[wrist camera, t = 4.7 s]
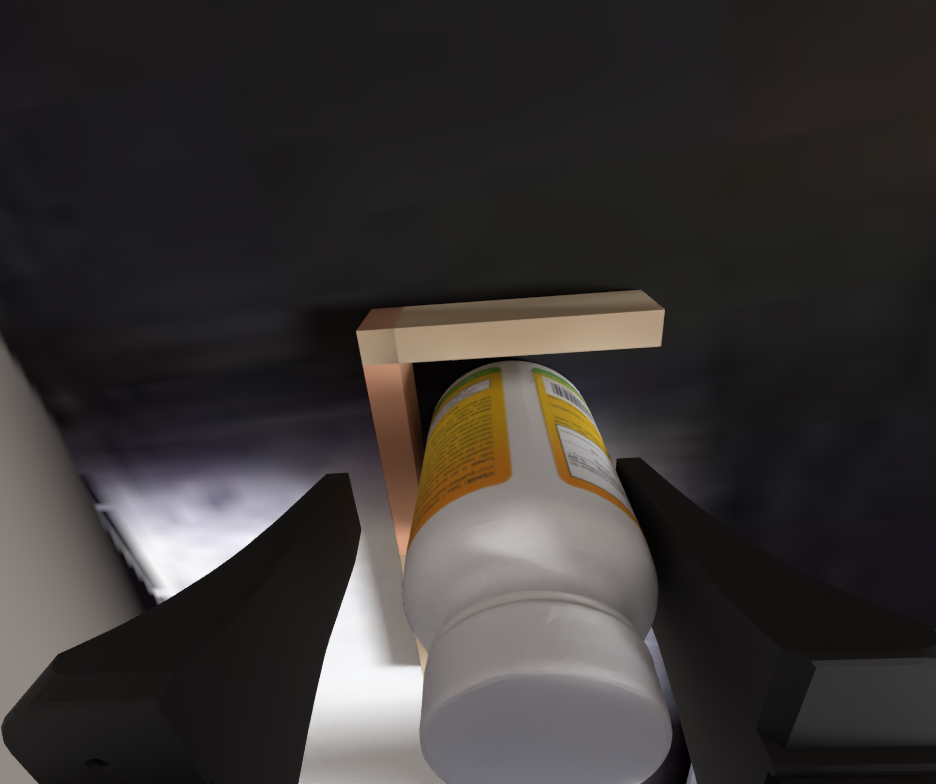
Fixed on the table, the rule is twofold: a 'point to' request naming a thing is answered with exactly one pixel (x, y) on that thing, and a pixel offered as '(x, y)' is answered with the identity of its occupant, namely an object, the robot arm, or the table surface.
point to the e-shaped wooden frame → (477, 336)
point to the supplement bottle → (530, 592)
